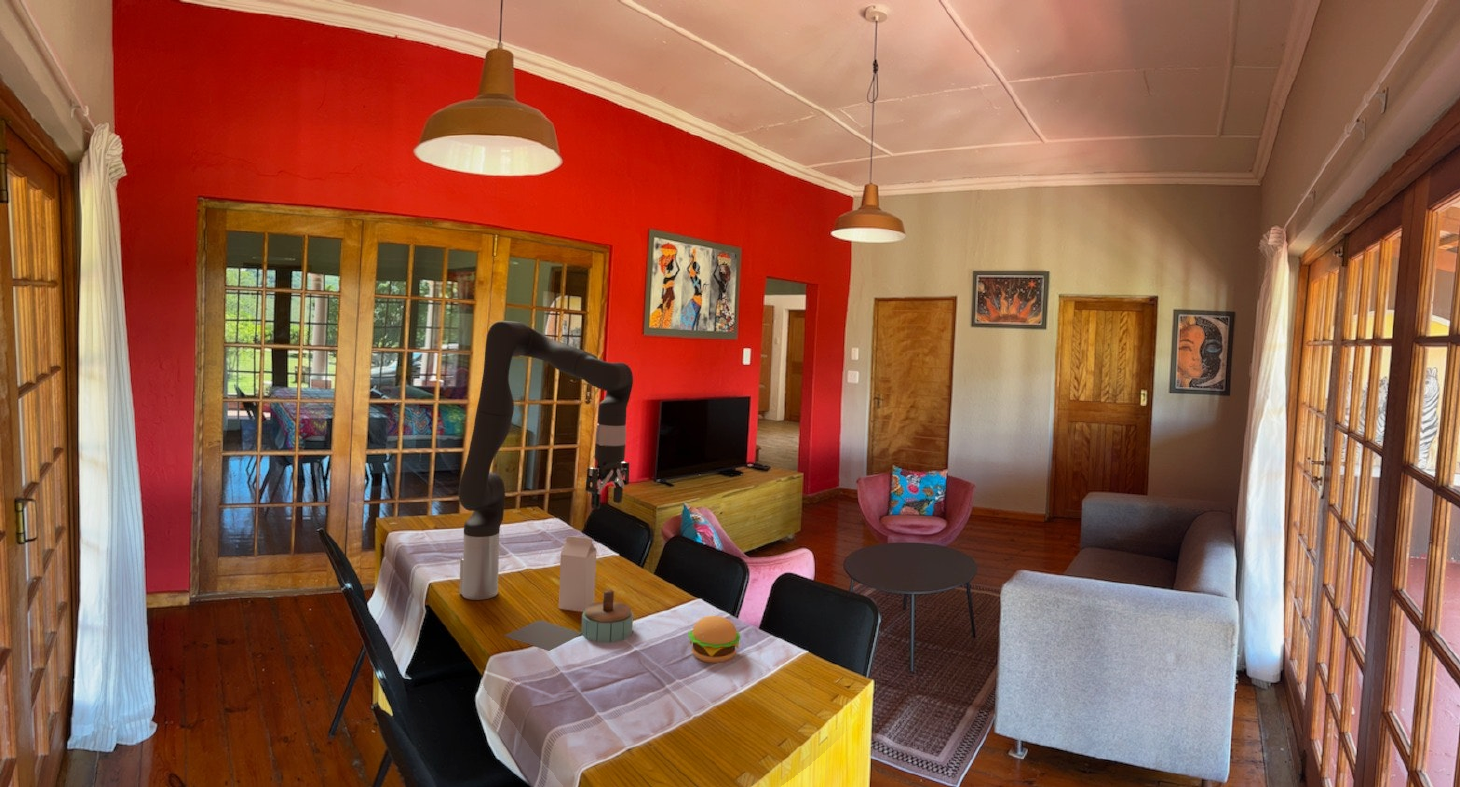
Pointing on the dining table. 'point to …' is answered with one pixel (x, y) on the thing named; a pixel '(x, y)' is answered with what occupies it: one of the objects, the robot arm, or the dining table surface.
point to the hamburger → (714, 639)
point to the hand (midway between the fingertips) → (606, 505)
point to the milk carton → (577, 574)
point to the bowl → (606, 629)
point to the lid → (608, 610)
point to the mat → (543, 635)
